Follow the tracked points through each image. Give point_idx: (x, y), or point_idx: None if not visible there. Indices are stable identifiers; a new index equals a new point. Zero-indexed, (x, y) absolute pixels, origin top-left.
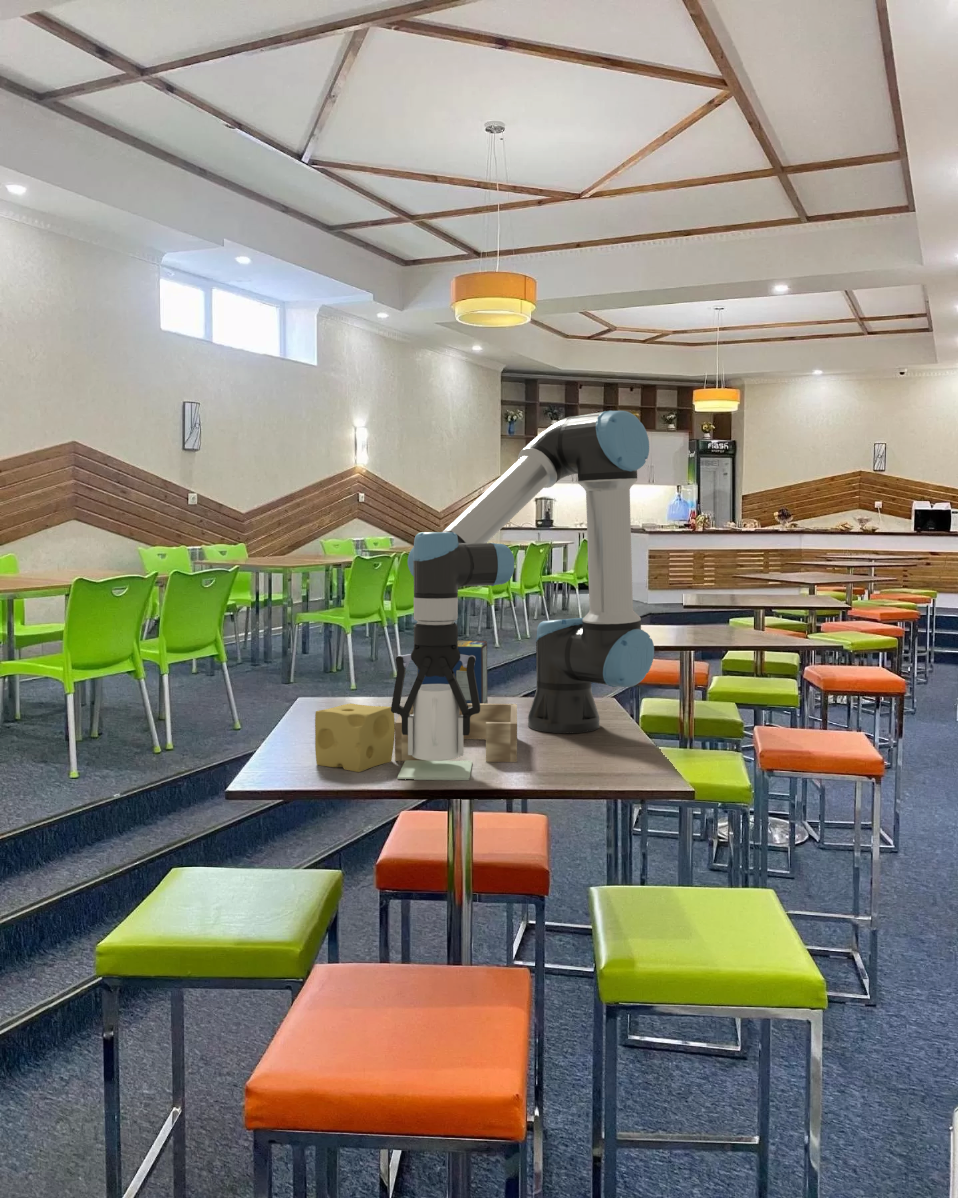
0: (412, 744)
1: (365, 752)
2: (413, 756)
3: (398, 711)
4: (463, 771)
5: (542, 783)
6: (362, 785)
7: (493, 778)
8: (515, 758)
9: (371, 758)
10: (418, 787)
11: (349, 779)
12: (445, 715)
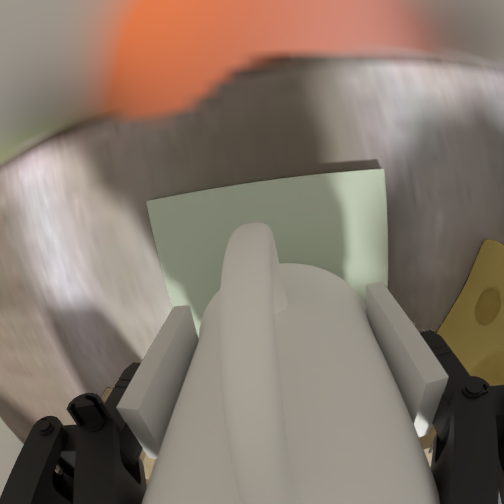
0: (378, 308)
1: (500, 282)
2: (361, 299)
3: (500, 395)
4: (183, 275)
5: (5, 217)
6: (453, 99)
7: (95, 239)
8: (105, 393)
9: (473, 303)
10: (289, 84)
11: (493, 164)
12: (200, 413)
